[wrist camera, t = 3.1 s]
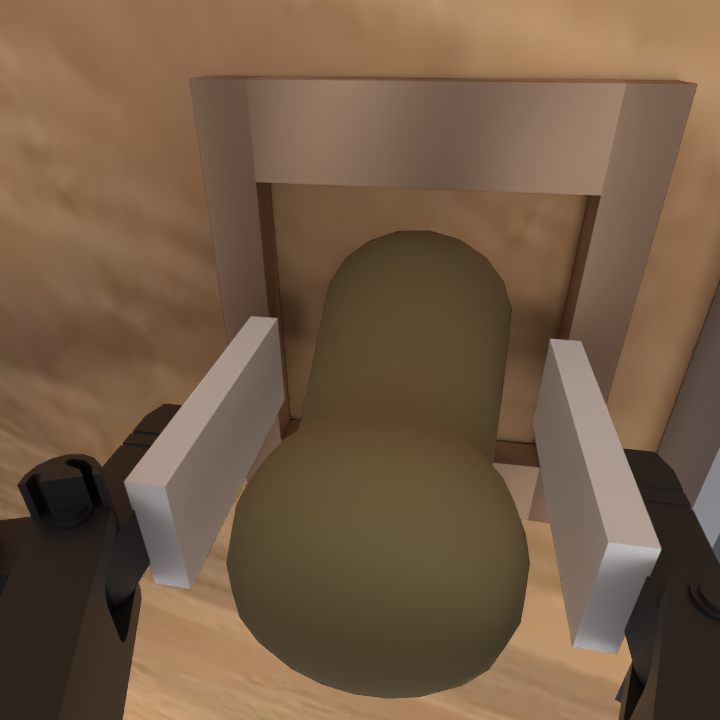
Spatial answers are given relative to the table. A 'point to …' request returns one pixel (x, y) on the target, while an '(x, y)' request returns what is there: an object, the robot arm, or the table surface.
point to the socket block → (446, 185)
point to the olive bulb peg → (391, 484)
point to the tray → (699, 430)
